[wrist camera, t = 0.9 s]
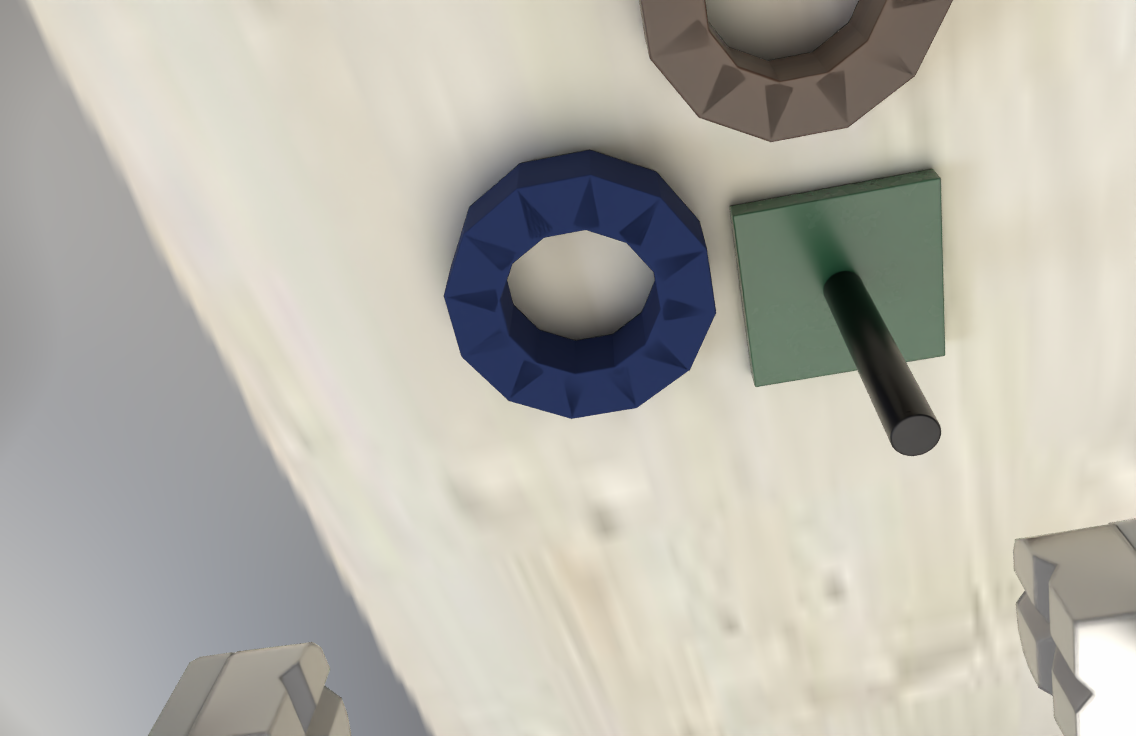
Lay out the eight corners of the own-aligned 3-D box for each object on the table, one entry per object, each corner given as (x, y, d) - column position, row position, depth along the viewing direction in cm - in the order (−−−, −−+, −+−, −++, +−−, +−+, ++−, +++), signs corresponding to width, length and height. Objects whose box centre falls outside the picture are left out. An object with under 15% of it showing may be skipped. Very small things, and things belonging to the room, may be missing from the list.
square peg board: (729, 205, 47) (777, 349, 36) (932, 168, 46) (1049, 303, 35) (751, 375, 52) (800, 550, 40) (938, 343, 51) (1042, 514, 39)
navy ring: (426, 180, 47) (417, 207, 44) (686, 130, 46) (693, 155, 43) (488, 398, 53) (483, 433, 50) (720, 359, 51) (728, 393, 49)
